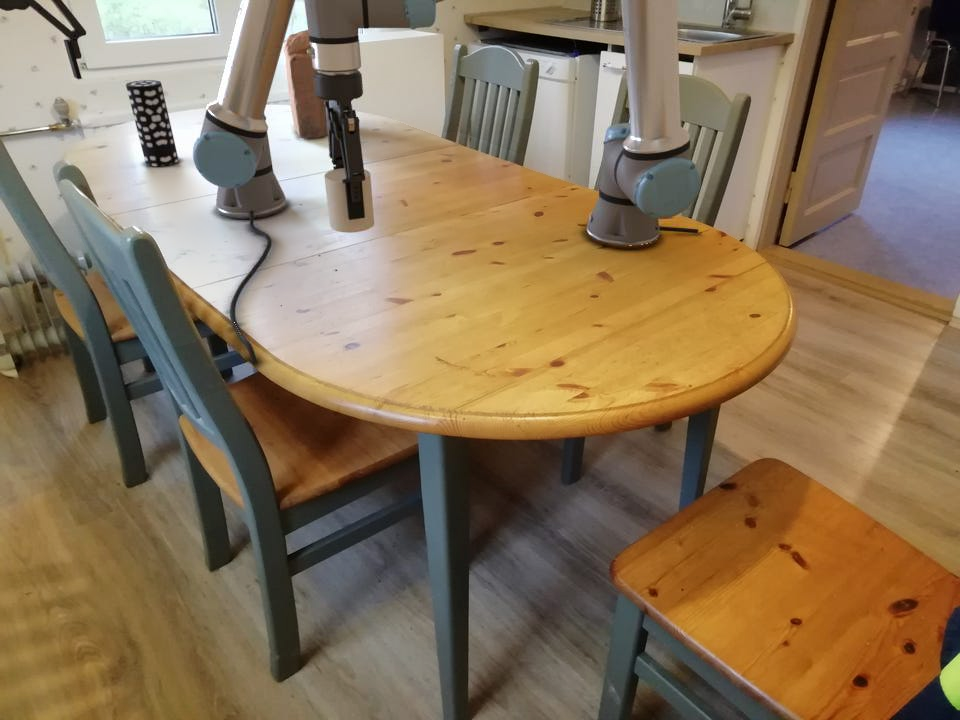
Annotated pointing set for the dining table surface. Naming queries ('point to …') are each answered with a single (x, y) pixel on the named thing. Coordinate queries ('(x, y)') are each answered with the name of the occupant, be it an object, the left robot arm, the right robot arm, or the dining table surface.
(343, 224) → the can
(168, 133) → the black white spotted cylinder
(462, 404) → the dining table surface
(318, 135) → the stone
